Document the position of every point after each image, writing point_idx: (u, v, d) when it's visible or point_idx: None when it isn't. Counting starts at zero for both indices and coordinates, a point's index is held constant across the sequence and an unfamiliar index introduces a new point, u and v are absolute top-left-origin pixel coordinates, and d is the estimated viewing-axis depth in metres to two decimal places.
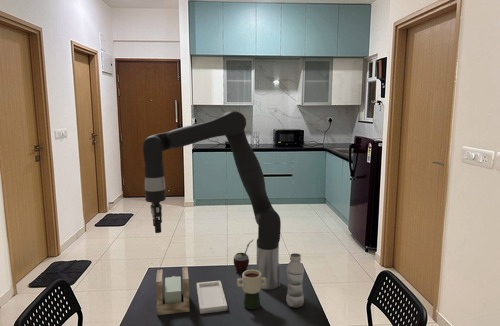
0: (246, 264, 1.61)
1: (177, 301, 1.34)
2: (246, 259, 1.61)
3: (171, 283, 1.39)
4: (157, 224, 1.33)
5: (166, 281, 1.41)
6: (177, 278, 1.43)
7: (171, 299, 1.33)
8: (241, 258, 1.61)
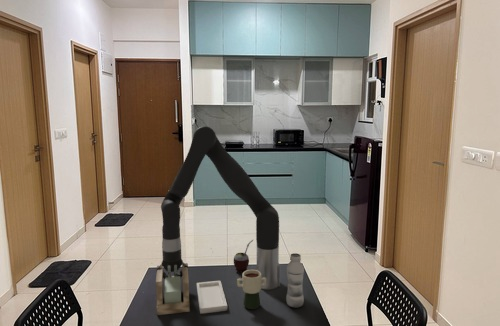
0: (246, 264, 1.61)
1: (177, 301, 1.33)
2: (246, 259, 1.61)
3: (171, 283, 1.39)
4: None
5: (166, 281, 1.40)
6: (177, 278, 1.43)
7: (171, 299, 1.33)
8: (241, 258, 1.61)
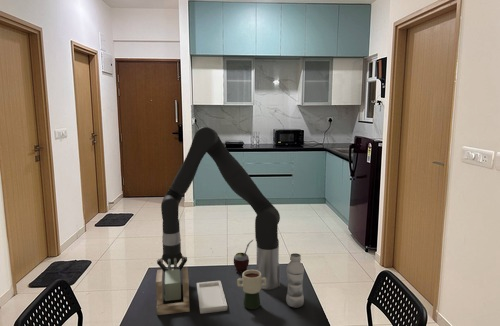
0: (246, 264, 1.61)
1: (177, 292, 1.40)
2: (246, 259, 1.61)
3: (171, 275, 1.45)
4: None
5: (166, 274, 1.47)
6: (177, 271, 1.49)
7: (171, 291, 1.39)
8: (241, 258, 1.61)
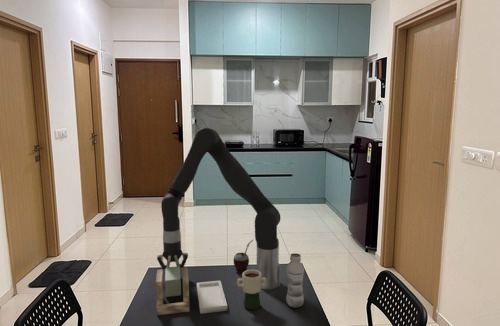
0: (246, 264, 1.61)
1: (177, 289, 1.43)
2: (246, 259, 1.61)
3: (171, 272, 1.48)
4: None
5: (166, 271, 1.50)
6: (177, 268, 1.52)
7: (171, 287, 1.42)
8: (241, 258, 1.61)
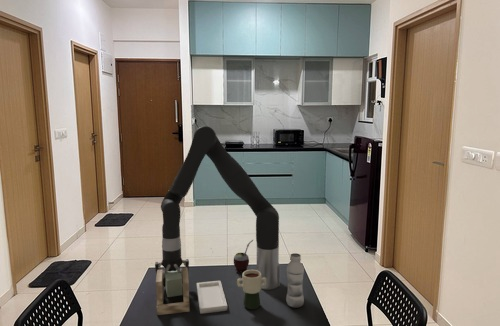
0: (246, 264, 1.61)
1: (178, 288, 1.43)
2: (246, 259, 1.61)
3: (171, 272, 1.48)
4: None
5: None
6: None
7: (173, 287, 1.42)
8: (241, 258, 1.61)
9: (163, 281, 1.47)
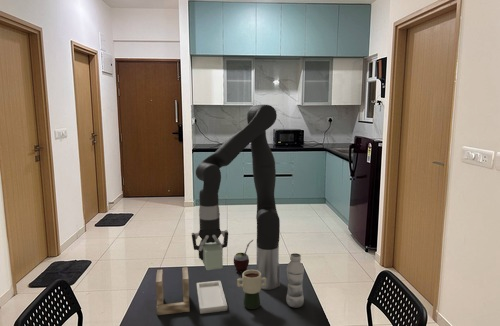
0: (246, 264, 1.61)
1: (218, 260, 1.30)
2: (246, 259, 1.61)
3: (209, 244, 1.35)
4: None
5: None
6: None
7: (213, 259, 1.29)
8: (241, 258, 1.61)
9: (200, 254, 1.34)
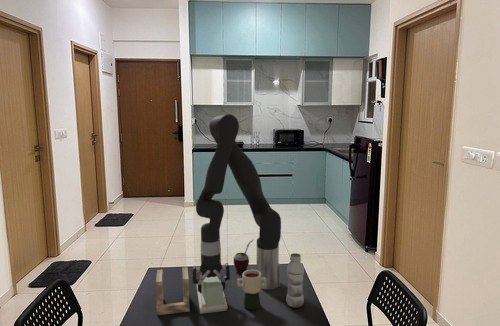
0: (246, 264, 1.61)
1: (219, 297, 1.32)
2: (246, 259, 1.61)
3: (210, 281, 1.38)
4: None
5: (204, 279, 1.39)
6: None
7: (213, 295, 1.32)
8: (241, 258, 1.61)
9: (200, 287, 1.36)
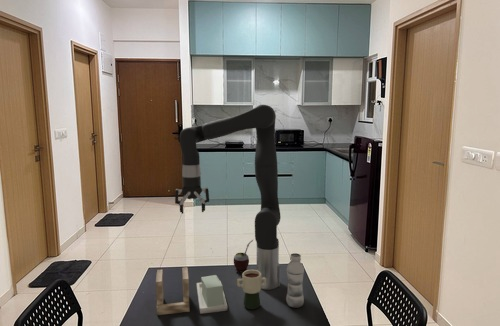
0: (246, 264, 1.61)
1: (219, 297, 1.32)
2: (246, 259, 1.61)
3: (210, 281, 1.38)
4: None
5: (204, 279, 1.39)
6: (214, 276, 1.42)
7: (213, 295, 1.32)
8: (241, 258, 1.61)
9: (181, 207, 1.51)
